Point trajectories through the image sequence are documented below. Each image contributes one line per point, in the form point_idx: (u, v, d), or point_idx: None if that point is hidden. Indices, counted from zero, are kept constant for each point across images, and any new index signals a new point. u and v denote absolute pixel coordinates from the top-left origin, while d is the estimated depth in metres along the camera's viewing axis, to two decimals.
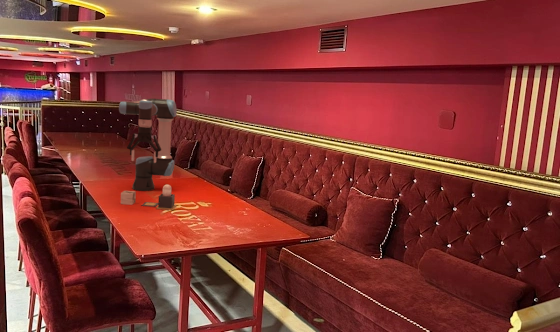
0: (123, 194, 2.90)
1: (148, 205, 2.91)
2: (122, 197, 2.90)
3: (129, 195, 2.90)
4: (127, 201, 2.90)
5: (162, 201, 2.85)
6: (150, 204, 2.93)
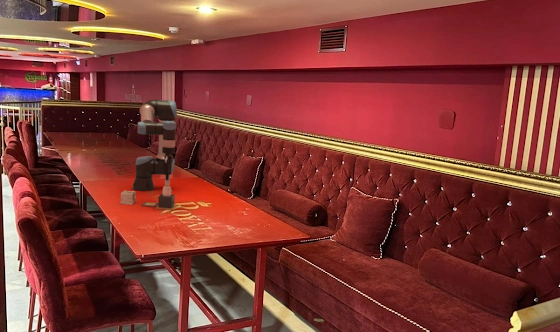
0: (123, 194, 2.90)
1: (148, 205, 2.91)
2: (122, 197, 2.90)
3: (129, 195, 2.90)
4: (127, 201, 2.90)
5: (162, 201, 2.85)
6: (150, 204, 2.93)
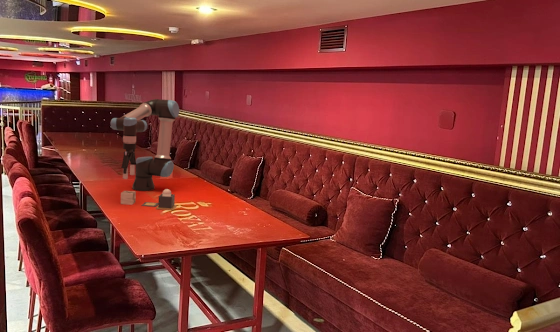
0: (123, 194, 2.90)
1: (148, 205, 2.91)
2: (122, 197, 2.90)
3: (129, 195, 2.90)
4: (127, 201, 2.90)
5: (162, 201, 2.85)
6: (150, 204, 2.93)
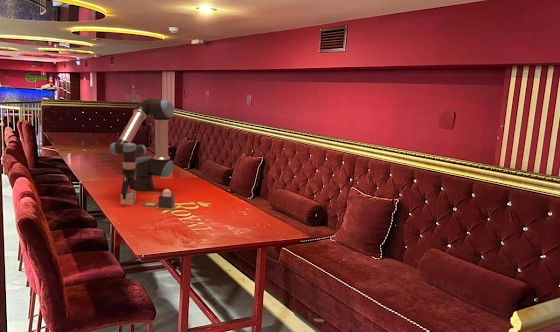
0: None
1: (148, 205, 2.91)
2: None
3: (129, 195, 2.90)
4: (127, 201, 2.90)
5: (162, 201, 2.85)
6: (150, 204, 2.93)
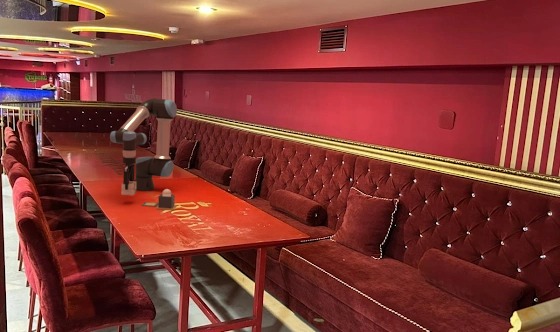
0: (124, 184, 2.89)
1: (148, 205, 2.91)
2: (123, 187, 2.89)
3: (130, 185, 2.89)
4: None
5: (162, 201, 2.85)
6: (150, 204, 2.93)
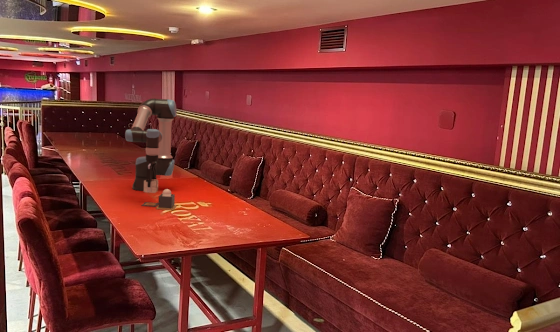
0: (146, 182, 2.88)
1: (148, 205, 2.91)
2: (145, 185, 2.89)
3: (152, 183, 2.88)
4: None
5: (162, 201, 2.85)
6: (150, 204, 2.93)
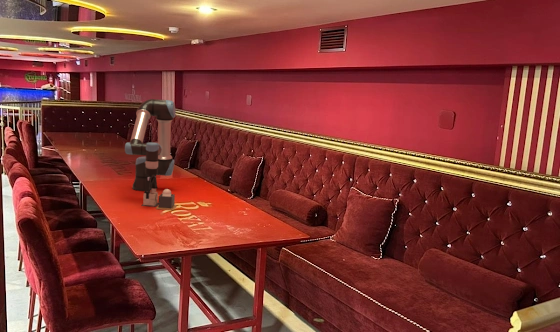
0: None
1: (148, 205, 2.91)
2: None
3: (152, 196, 2.90)
4: (150, 202, 2.90)
5: (162, 201, 2.85)
6: None
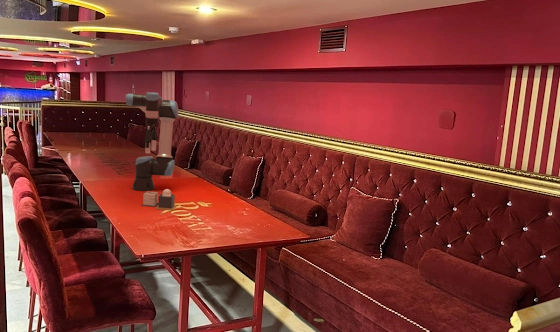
0: (146, 195, 2.90)
1: (148, 205, 2.91)
2: (145, 198, 2.90)
3: (152, 196, 2.90)
4: (150, 202, 2.90)
5: (162, 201, 2.85)
6: None
